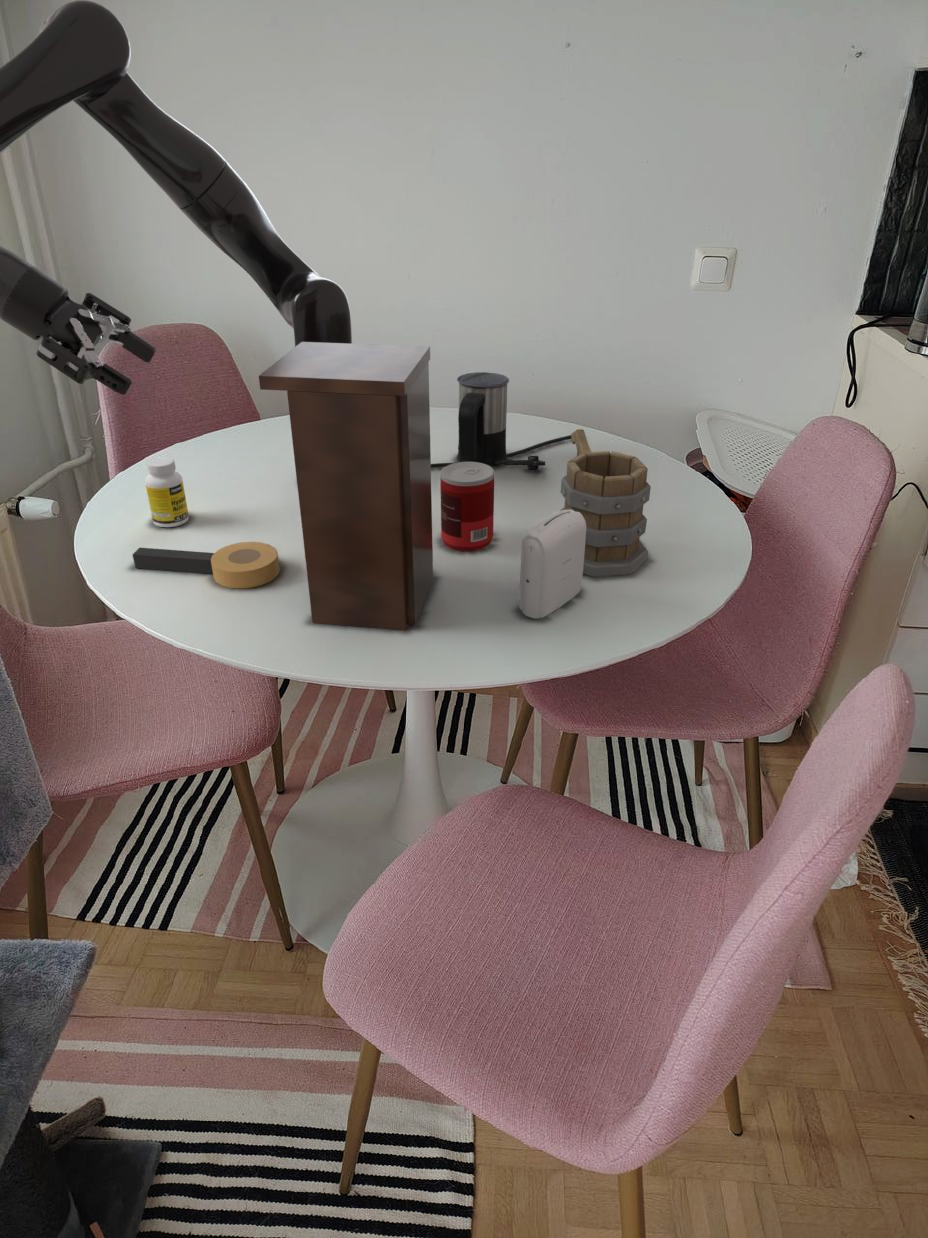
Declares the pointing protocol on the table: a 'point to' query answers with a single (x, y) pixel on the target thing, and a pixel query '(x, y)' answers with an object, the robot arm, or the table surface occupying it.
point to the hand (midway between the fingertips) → (141, 372)
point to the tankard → (608, 507)
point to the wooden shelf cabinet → (361, 477)
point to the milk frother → (485, 421)
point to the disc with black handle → (218, 563)
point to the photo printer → (552, 563)
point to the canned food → (467, 505)
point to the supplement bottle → (166, 493)
